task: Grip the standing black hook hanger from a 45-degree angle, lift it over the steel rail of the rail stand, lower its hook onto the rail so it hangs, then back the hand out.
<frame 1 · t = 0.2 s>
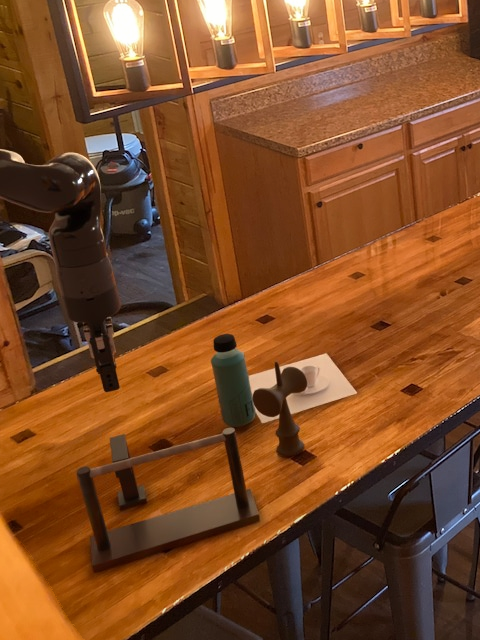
hand: (110, 377, 150), 31 cm above the table, tool pointing down, fingers open, 8 cm apart
beverage bottle: (240, 425, 191), on the table
kendama: (291, 451, 183), on the table
hook hanger: (132, 499, 170), on the table
rail stand: (177, 531, 162), on the table
teacup and saucer: (296, 386, 204), on the table
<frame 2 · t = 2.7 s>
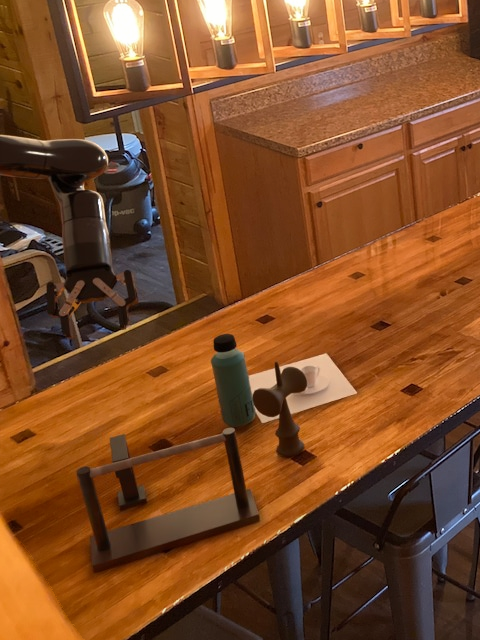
hand: (97, 333, 168), 29 cm above the table, tool tilted 40°, fingers open, 8 cm apart
nothing on the table moved.
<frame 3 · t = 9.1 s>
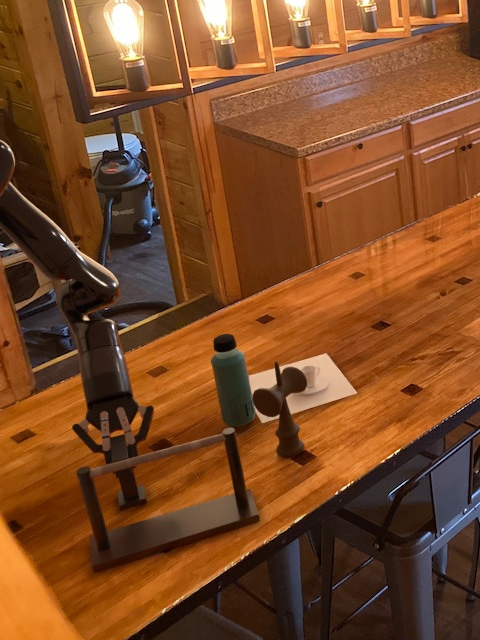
hand: (124, 469, 165), 8 cm above the table, tool tilted 45°, fingers closed on hook hanger, 2 cm apart
hook hanger: (132, 499, 170), on the table, touching gripper
everything else where it was.
when the fingers open (13 cm above the table, at t = 15.2 s): hook hanger moves 10 cm and tips over, resting on rail stand.
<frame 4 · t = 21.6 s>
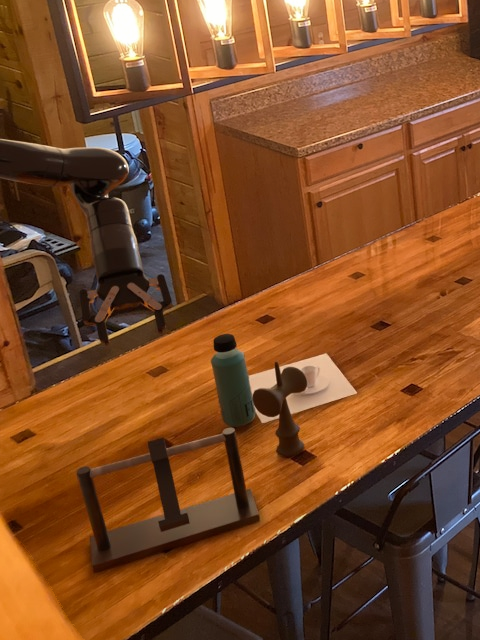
hand: (134, 338, 166), 29 cm above the table, tool tilted 45°, fingers open, 8 cm apart
hook hanger: (174, 525, 155), point 6 cm above the table, tilted 47°, touching rail stand
everything else where it was.
at the end: hook hanger inside the target area on the rail stand (3.4 cm from its centre), point 4.8 cm above the rail stand's base; hook hanger touching rail stand; the gripper is holding nothing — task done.
